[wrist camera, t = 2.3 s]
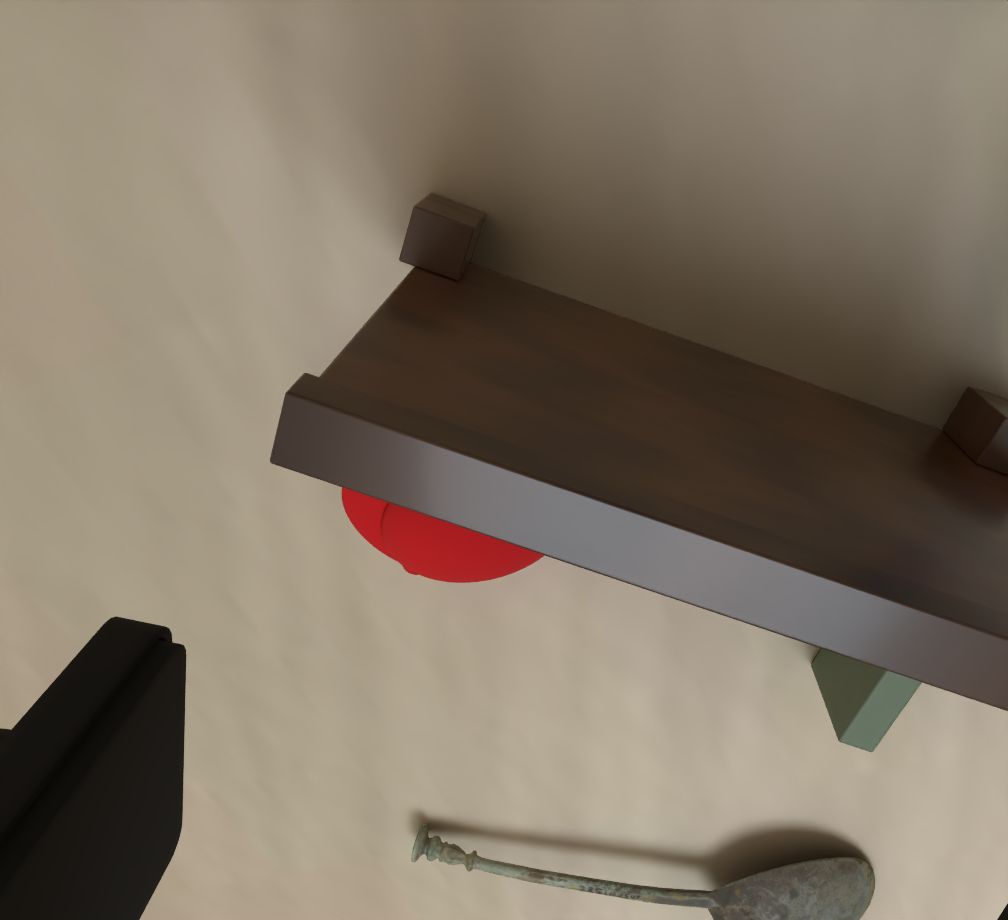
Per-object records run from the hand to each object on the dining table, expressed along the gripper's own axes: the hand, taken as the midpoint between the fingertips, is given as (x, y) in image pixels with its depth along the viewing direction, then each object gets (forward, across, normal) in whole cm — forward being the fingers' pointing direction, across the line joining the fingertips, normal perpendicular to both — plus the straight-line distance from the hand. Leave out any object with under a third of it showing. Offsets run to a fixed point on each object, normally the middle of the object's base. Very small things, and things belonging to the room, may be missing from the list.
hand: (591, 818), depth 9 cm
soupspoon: (+23, -8, +26) cm, 36 cm away
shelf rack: (+23, -4, +6) cm, 24 cm away
